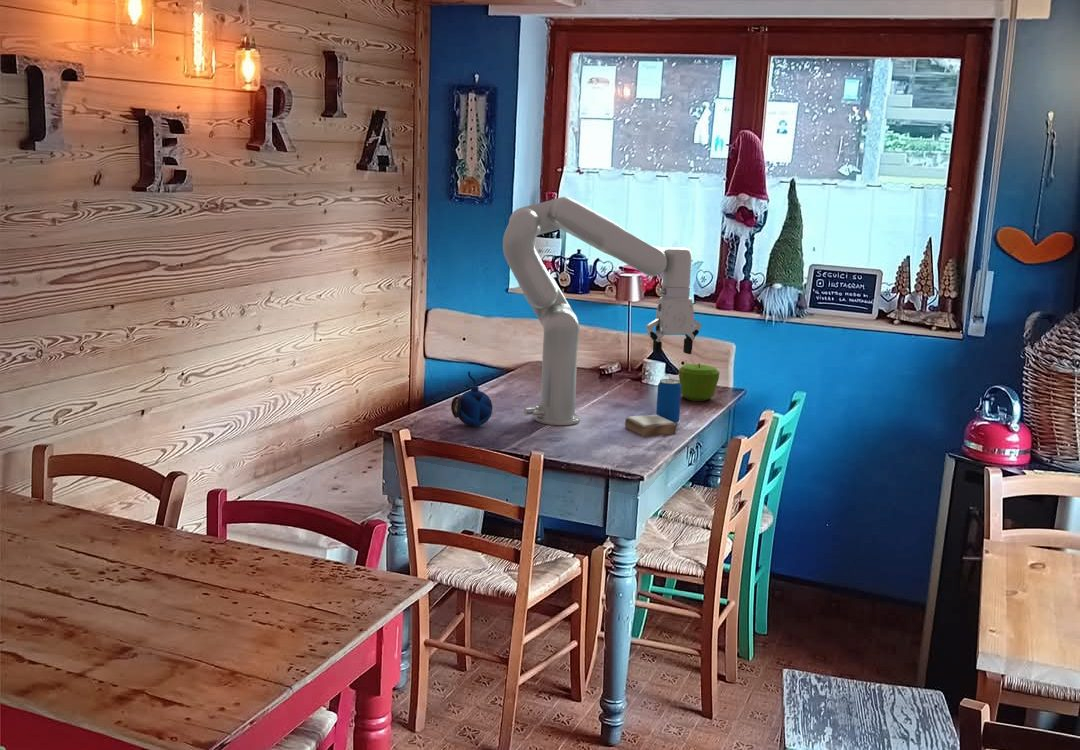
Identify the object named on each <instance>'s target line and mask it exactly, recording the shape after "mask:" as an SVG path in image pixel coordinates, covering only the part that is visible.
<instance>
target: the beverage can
mask: <svg viewBox="0 0 1080 750" xmlns="http://www.w3.org/2000/svg"><path fill="white" fill-rule="evenodd" d="M656 393H657V394H656V395H657V396H656V412H655V415H659V416H661V417H663V418H665V419H667V420H670V421H672V422H674V424H676V425H677V423H679V422H680V415H681V414H680V413H681V412H680V410H681V397H682V394H681V385H680V380H678V379H675V378H674V379H672V378H662V379H660V380H659V382H658V384H657V392H656Z"/></svg>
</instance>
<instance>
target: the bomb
mask: <svg viewBox="0 0 1080 750" xmlns="http://www.w3.org/2000/svg"><path fill="white" fill-rule="evenodd" d="M467 375H468V377H469V379H470V380H472V381H473V385H471V386H470V390H467V391H466V392H464V393H462V394H459V395H457V396H454V398H453V399H452V401H451V404H450V410H451V413H452V415H453V417H454V418H455V419H457V418H458V419H459V420H460V422H462V423H463V424H464V425H467V426H469V427H478V426H483V425H485V424H486V423H487V421H489V419H490V418H491V416H492V414H493V409H494V408H493V402H492V399H490V397H489V395H488V394H487V393H485V392H483V391H482V390H479V385H478V386H477V382H476V379H475V378H474V377H473V376H471V372H470V371H468V372H467Z"/></svg>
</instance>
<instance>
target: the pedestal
mask: <svg viewBox="0 0 1080 750" xmlns="http://www.w3.org/2000/svg"><path fill="white" fill-rule="evenodd" d="M624 421H625V423H624V427H625V428H626V429H628V430H630V431H632V432H634V433H636V434H638V435H640V436H642V437H650V436H652V437H653V436H663V435H674V434H676V433H677V432H676V431H677V423H676V424H674V422H672V421H670V420H667V419H665V418H663V417H661V416H659V415H656V414H649V415H635V416H634V415H633V416H632V415H631V416H627V418H625V420H624Z"/></svg>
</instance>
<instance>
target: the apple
mask: <svg viewBox="0 0 1080 750" xmlns="http://www.w3.org/2000/svg"><path fill="white" fill-rule="evenodd" d="M678 379H679V380H678V381H680V385H681V396H683V397H684V398H685V399H686V400H689V401H692V402H704V401H707V400H709V399H711V398H713V397H715V392H716V390H717V389H716V388H717V386H718V382H719V379H720V371H719V370H718V369H717V368H716V367H714V366H711V365H706V364H701V363H698V364H697V363H689V364H683V365H682V366H681V367H680V368H679V369H678Z"/></svg>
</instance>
